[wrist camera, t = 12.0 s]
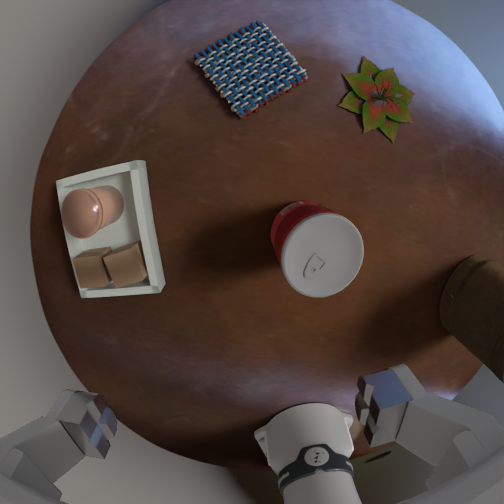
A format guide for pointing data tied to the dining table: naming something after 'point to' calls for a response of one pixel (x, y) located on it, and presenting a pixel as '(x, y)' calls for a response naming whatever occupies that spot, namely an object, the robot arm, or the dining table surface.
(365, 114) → the lily flower
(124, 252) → the block
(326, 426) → the robot arm
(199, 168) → the dining table surface
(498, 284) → the wooden container
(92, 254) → the block
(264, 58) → the woven mat
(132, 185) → the tray
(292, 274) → the canned food
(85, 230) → the pink lidded jar
